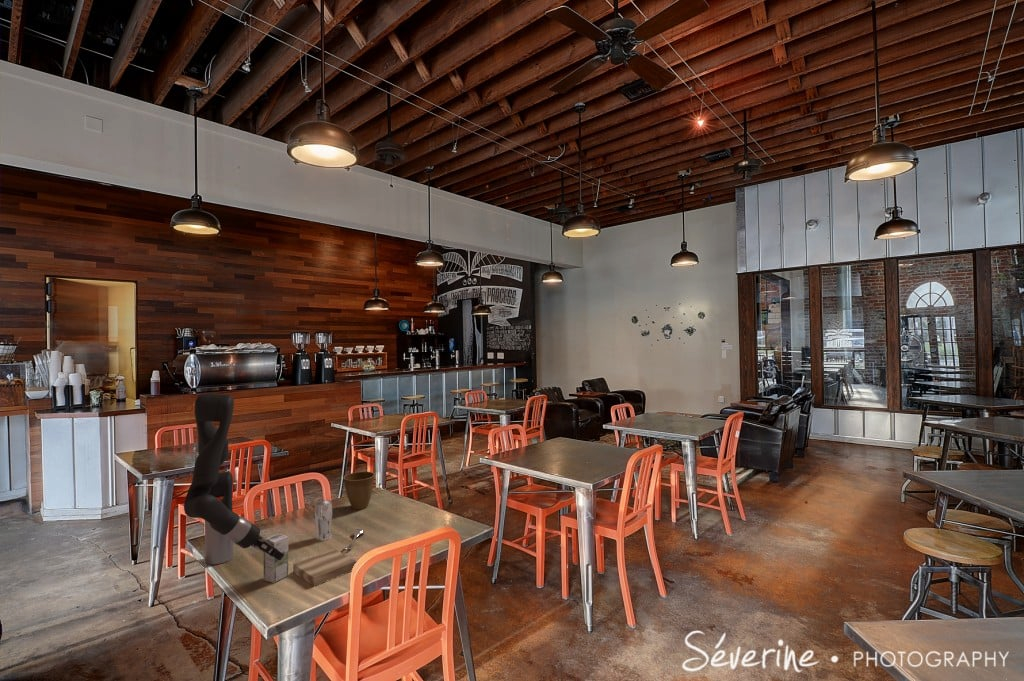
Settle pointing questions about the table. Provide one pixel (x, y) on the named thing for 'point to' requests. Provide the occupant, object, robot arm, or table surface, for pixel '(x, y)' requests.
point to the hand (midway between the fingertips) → (276, 553)
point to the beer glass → (323, 519)
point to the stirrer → (356, 533)
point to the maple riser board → (323, 567)
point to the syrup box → (273, 566)
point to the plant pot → (359, 488)
